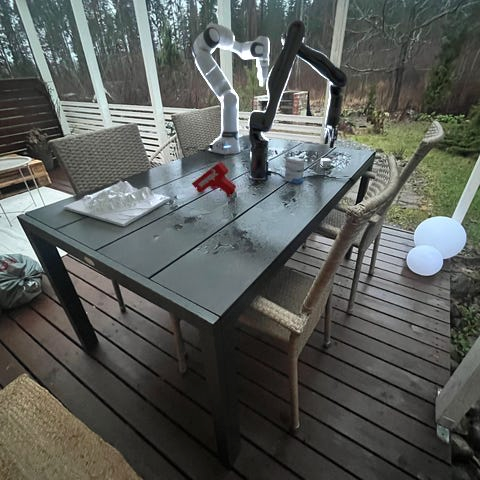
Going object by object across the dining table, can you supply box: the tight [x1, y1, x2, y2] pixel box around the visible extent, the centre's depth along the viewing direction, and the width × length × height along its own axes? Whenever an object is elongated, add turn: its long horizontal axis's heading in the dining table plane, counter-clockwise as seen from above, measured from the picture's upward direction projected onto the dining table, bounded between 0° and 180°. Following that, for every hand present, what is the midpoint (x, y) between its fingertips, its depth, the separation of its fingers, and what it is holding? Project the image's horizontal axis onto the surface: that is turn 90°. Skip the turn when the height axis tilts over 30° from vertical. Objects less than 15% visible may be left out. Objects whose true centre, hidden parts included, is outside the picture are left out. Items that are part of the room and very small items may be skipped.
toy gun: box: [191, 161, 237, 197], centre depth 128 cm, size 18×4×15 cm
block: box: [319, 157, 332, 169], centre depth 162 cm, size 4×5×5 cm
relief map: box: [63, 179, 171, 227], centre depth 119 cm, size 27×35×5 cm
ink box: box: [284, 156, 306, 185], centre depth 140 cm, size 8×5×12 cm, turn 47°
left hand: (261, 86), depth 203 cm, fingers open, 8 cm apart
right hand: (328, 146), depth 156 cm, fingers open, 8 cm apart
